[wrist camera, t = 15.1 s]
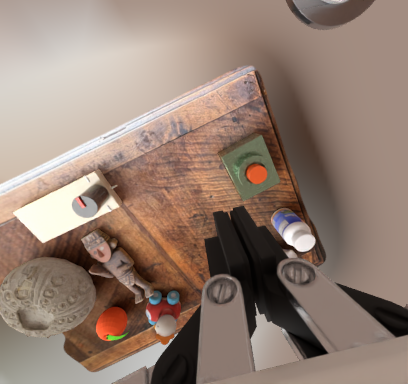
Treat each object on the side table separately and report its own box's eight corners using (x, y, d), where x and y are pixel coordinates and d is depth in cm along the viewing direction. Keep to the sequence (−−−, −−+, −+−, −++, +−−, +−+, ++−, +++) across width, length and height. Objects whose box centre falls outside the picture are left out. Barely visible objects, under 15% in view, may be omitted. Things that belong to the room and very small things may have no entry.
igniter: (217, 153, 38) (222, 159, 33) (253, 132, 37) (266, 135, 32) (237, 193, 42) (246, 205, 36) (271, 175, 41) (285, 185, 36)
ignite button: (243, 169, 34) (246, 171, 32) (259, 160, 34) (263, 162, 32) (250, 183, 35) (253, 187, 34) (266, 175, 35) (270, 178, 33)
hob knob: (113, 199, 37) (102, 213, 32) (95, 206, 38) (80, 222, 32) (101, 181, 36) (87, 192, 31) (82, 189, 36) (65, 202, 31)
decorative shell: (1, 267, 43) (-49, 309, 34) (70, 234, 42) (38, 268, 32) (57, 314, 50) (29, 360, 40) (118, 288, 48) (103, 329, 39)
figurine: (130, 312, 45) (65, 252, 38) (135, 294, 49) (78, 238, 43) (155, 298, 44) (94, 235, 37) (157, 281, 49) (104, 222, 42)
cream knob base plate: (49, 238, 41) (42, 244, 39) (19, 207, 38) (10, 212, 36) (132, 198, 40) (129, 202, 38) (108, 163, 37) (103, 166, 35)
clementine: (137, 303, 51) (130, 332, 44) (130, 321, 53) (123, 350, 47) (105, 298, 49) (94, 326, 43) (100, 316, 51) (87, 346, 45)
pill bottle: (296, 210, 45) (325, 234, 36) (286, 229, 47) (310, 257, 38) (276, 204, 44) (300, 227, 35) (266, 224, 46) (286, 251, 37)
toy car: (147, 289, 49) (139, 329, 40) (182, 289, 51) (182, 328, 41) (147, 314, 53) (139, 356, 44) (179, 314, 54) (178, 355, 45)
